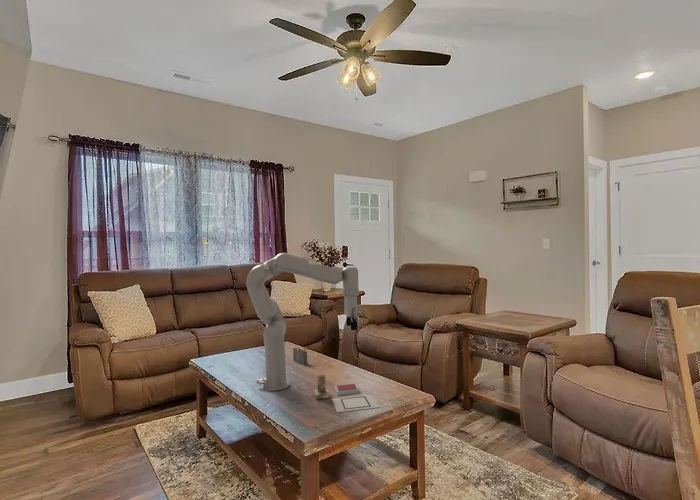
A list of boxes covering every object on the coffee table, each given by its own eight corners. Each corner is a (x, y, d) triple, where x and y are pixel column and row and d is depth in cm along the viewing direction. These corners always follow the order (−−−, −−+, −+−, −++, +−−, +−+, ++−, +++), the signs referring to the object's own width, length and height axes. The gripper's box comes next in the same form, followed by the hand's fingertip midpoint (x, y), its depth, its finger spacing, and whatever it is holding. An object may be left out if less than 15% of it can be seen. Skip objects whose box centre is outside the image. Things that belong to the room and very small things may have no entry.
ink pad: (337, 395, 181) (337, 391, 181) (334, 388, 189) (334, 385, 189) (359, 392, 183) (358, 389, 183) (355, 386, 191) (355, 383, 191)
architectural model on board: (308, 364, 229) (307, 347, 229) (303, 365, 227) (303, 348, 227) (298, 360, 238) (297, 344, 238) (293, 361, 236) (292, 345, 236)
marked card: (336, 412, 163) (336, 411, 163) (332, 399, 177) (332, 398, 177) (379, 407, 166) (379, 406, 166) (371, 395, 180) (371, 394, 180)
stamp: (316, 400, 176) (315, 378, 176) (314, 395, 182) (313, 374, 182) (329, 398, 177) (328, 377, 177) (327, 393, 183) (326, 373, 183)
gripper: (340, 291, 202) (340, 324, 203) (347, 295, 185) (348, 332, 186) (354, 290, 204) (355, 323, 204) (362, 294, 187) (363, 331, 188)
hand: (351, 327), depth 195 cm, fingers open, 9 cm apart
